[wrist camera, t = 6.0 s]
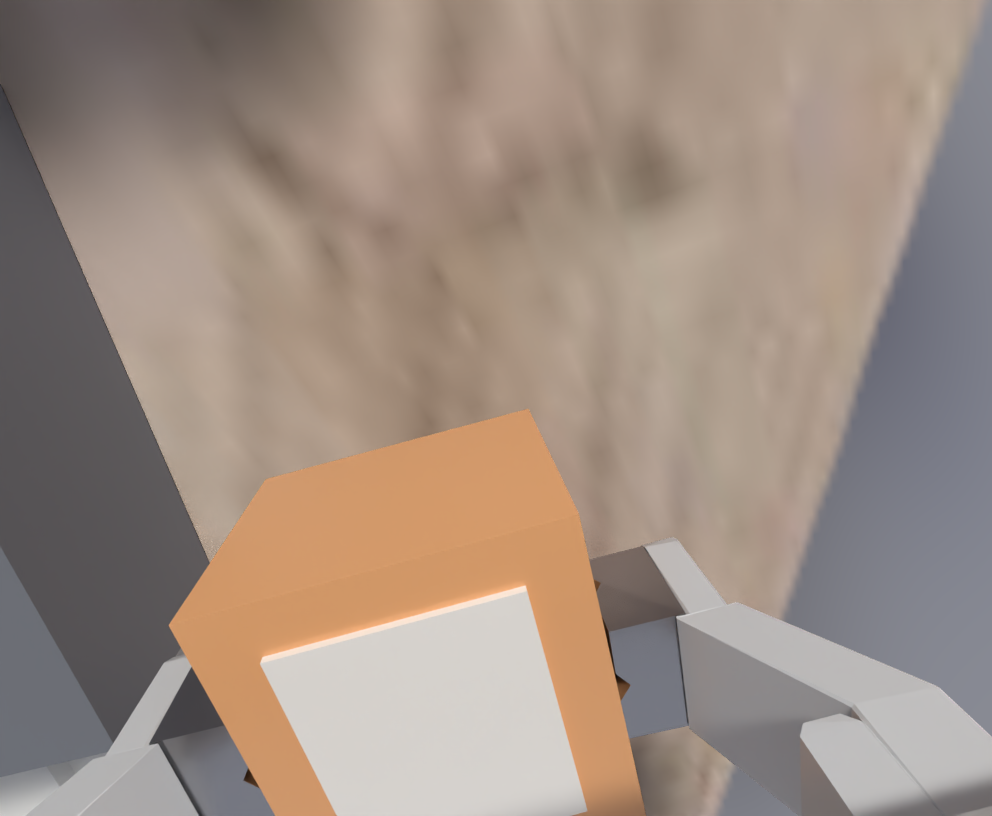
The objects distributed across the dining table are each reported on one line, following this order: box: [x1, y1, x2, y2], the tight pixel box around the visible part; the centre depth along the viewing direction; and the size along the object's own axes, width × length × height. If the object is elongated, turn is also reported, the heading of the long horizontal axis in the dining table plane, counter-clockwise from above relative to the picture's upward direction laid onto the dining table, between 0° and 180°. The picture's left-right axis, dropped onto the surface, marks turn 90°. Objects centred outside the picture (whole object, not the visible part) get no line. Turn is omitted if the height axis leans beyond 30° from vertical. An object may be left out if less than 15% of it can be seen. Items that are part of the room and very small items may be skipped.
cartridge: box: [169, 409, 646, 816], centre depth 8 cm, size 5×4×4 cm
